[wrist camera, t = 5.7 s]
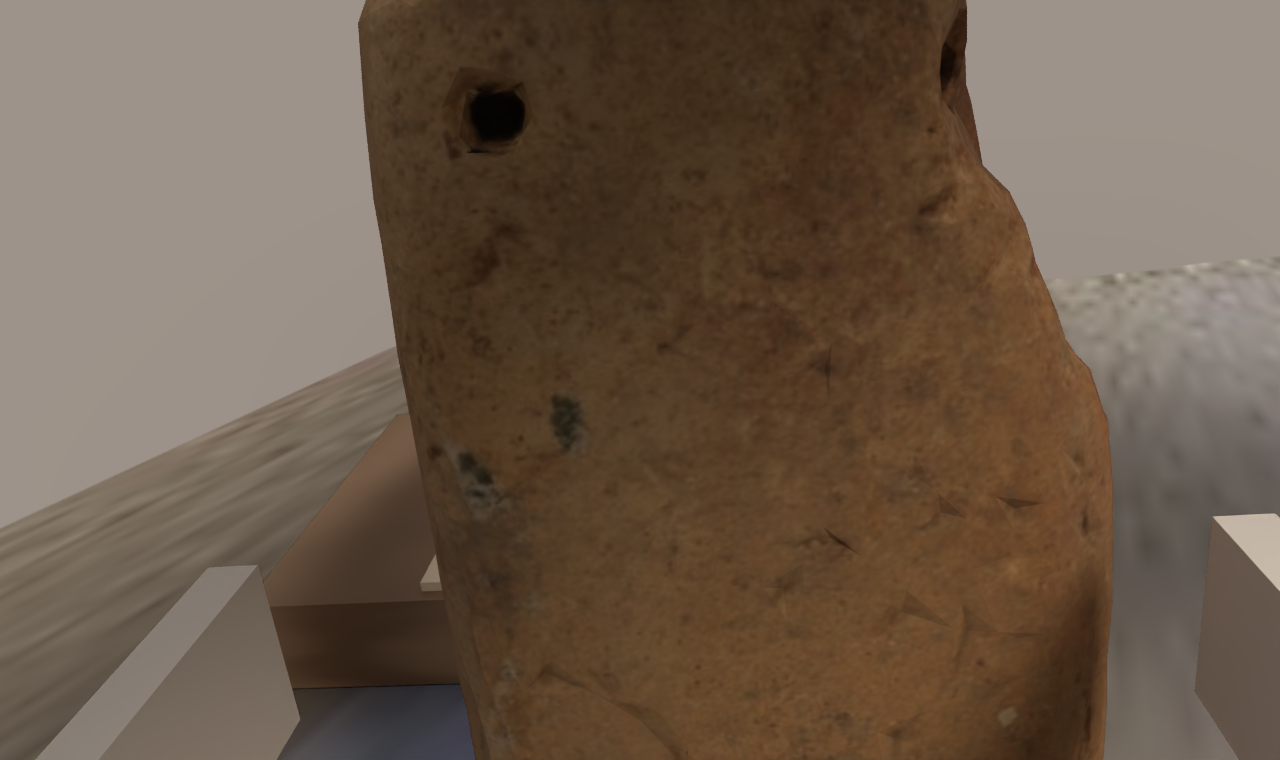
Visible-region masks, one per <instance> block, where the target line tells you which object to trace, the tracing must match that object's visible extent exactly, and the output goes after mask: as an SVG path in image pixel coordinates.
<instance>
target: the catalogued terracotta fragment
mask: <svg viewBox="0 0 1280 760" xmlns="http://www.w3.org/2000/svg"><path fill="white" fill-rule="evenodd" d="M358 28H359V42H360V56H361V70H362V83H363V99H364V112H365V122H366V133H367V142H368V152H369V161H370V170H371V180H372V188H373V199H374V204H375V210H376V216H377V220H378V226H379V231H380V237H381V243H382V250H383V256H384V263H385V269H386V276H387V283H388V290H389V297H390V303H391V310H392V317H393V324H394V331H395V338H396V345H397V352H398V359H399V364H400V369H401V374H402V379H403V384H404V388H405V393H406V398H407V404H408V409H409V415H410V420H411V426H412V431H413V437H414V442H415V447H416V453H417V458H418V463H419V468H420V474H421V479H422V484H423V489H424V495H425V500H426V505H427V510H428V516H429V521H430V526H431V531H432V536H433V542H434V548H435V553H436V559H437V565H438V571H439V577H440V583H441V587H442V592H443V597H444V602H445V607H446V612H447V617H448V622H449V627H450V632H451V638H452V644H453V650H454V656H455V662H456V669H457V673H458V677H459V681H460V685H461V689H462V693H463V697H464V700H465V704H466V708H467V712H468V718H469V725H470V731H471V738H472V743H473V747H474V753H475V759H476V760H1103V756H1104V741H1105V724H1106V708H1107V653H1108V643H1109V633H1110V621H1111V610H1112V563H1113V482H1112V468H1111V455H1110V443H1109V430H1108V419H1107V417H1106V415H1105V412H1104V410H1103V408H1102V405H1101V402H1100V398H1099V395H1098V392H1097V389H1096V386H1095V383H1094V380H1093V377H1092V374H1091V371H1090V369H1089V367H1088V366H1087V365H1086V364H1085V363H1084V362H1083V361H1082V360H1081V359H1080V358H1079V357H1078V356H1077V355H1076V354H1075V352H1074V351H1073V349H1072V348H1071V346H1070V345H1069V343H1068V342H1067V340H1066V339H1065V336H1064V333H1063V330H1062V326H1061V323H1060V320H1059V317H1058V314H1057V311H1056V309H1055V306H1054V304H1053V301H1052V299H1051V296H1050V294H1049V291H1048V289H1047V287H1046V284H1045V282H1044V280H1043V278H1042V275H1041V273H1040V271H1039V269H1038V266H1037V264H1036V262H1035V258H1034V253H1033V248H1032V245H1031V241H1030V238H1029V235H1028V231H1027V228H1026V225H1025V222H1024V220H1023V218H1022V216H1021V214H1020V212H1019V210H1018V208H1017V206H1016V204H1015V202H1014V200H1013V198H1012V196H1011V194H1010V192H1009V191H1008V190H1007V189H1006V188H1005V187H1004V186H1003V185H1002V184H1001V183H1000V182H999V181H998V180H997V179H996V178H995V177H994V176H993V175H992V174H991V173H990V172H989V171H988V170H987V169H986V168H985V167H984V166H983V164H982V159H981V153H980V147H979V142H978V136H977V130H976V125H975V120H974V115H973V110H972V104H971V100H970V96H969V93H968V89H967V86H966V66H965V47H966V43H967V5H966V0H366V1H365V4H364V8H363V10H362V13H361V17H360V19H359V22H358Z"/></svg>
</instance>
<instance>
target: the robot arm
mask: <svg viewBox="0 0 1280 760" xmlns="http://www.w3.org/2000/svg"><path fill="white" fill-rule="evenodd" d="M1195 692H1196V694H1197V695H1198V697H1199V698H1200V700H1201V701H1202V703H1203V704H1204V706H1205V707H1206V709H1207V711H1208V712H1209V714H1210V715H1211V717H1212V718H1213V720H1214V721H1215V723H1216V724H1217V726H1218V727H1219V729H1220V730H1221V732H1222V733H1223V735H1224V737H1225V738H1226V740H1227V741H1228V743H1229V744H1230V746H1231V747H1232V749H1233V750H1234V752H1235V753H1236V755H1237V756H1238V758H1239V760H1280V518H1279V517H1278V516H1277V515H1276V514H1275V513H1273V514H1253V515H1233V516H1214V517H1212V527H1211V536H1210V546H1209V556H1208V566H1207V576H1206V586H1205V595H1204V605H1203V615H1202V625H1201V635H1200V644H1199V654H1198V664H1197V674H1196V684H1195ZM299 721H300V716H299V712H298V709H297V705H296V701H295V698H294V694H293V691H292V687H291V683H290V680H289V676H288V672H287V669H286V665H285V661H284V658H283V654H282V650H281V647H280V643H279V640H278V636H277V632H276V629H275V625H274V621H273V618H272V614H271V610H270V607H269V603H268V600H267V596H266V592H265V589H264V585H263V581H262V578H261V574H260V570H259V567H258V565H247V566H227V567H208V568H207V570H206V571H205V572H204V573H203V574H202V575H201V576H200V577H199V578H198V580H197V581H196V582H195V583H194V584H193V585H192V586H191V587H190V588H189V590H188V591H187V592H186V593H185V594H184V595H183V596H182V597H181V598H180V600H179V601H178V602H177V603H176V604H175V605H174V606H173V607H172V608H171V610H170V611H169V612H168V613H167V614H166V615H165V616H164V617H163V618H162V620H161V621H160V622H159V623H158V624H157V625H156V626H155V627H154V628H153V630H152V631H151V632H150V633H149V634H148V635H147V636H146V637H145V638H144V640H143V641H142V642H141V643H140V644H139V645H138V646H137V647H136V648H135V649H134V651H133V652H132V653H131V654H130V655H129V656H128V657H127V658H126V659H125V661H124V662H123V663H122V664H121V665H120V666H119V667H118V668H117V669H116V671H115V672H114V673H113V674H112V675H111V676H110V677H109V678H108V679H107V681H106V682H105V683H104V684H103V685H102V686H101V687H100V688H99V689H98V691H97V692H96V693H95V694H94V695H93V696H92V697H91V698H90V699H89V701H88V702H87V703H86V704H85V705H84V706H83V707H82V708H81V709H80V711H79V712H78V713H77V714H76V715H75V716H74V717H73V718H72V719H71V721H70V722H69V723H68V724H67V725H66V726H65V727H64V728H63V729H62V731H61V732H60V733H59V734H58V735H57V736H56V737H55V738H54V739H53V741H52V742H51V743H50V744H49V745H48V746H47V747H46V748H45V749H44V750H43V752H42V753H41V754H40V755H39V756H38V757H37V758H36V759H35V760H277V758H278V757H279V755H280V753H281V751H282V750H283V748H284V746H285V745H286V743H287V741H288V740H289V738H290V736H291V734H292V733H293V731H294V729H295V728H296V726H297V724H298V723H299Z"/></svg>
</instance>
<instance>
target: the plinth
mask: <svg viewBox="0 0 1280 760" xmlns="http://www.w3.org/2000/svg"><path fill="white" fill-rule="evenodd" d="M263 585H264V589H265V592H266V596H267V600H268V603H269V607H270V610H271V614H272V618H273V621H274V625H275V629H276V632H277V636H278V640H279V643H280V647H281V650H282V654H283V658H284V661H285V665H286V669H287V672H288V676H289V680H290V683H291V687H292V688H324V687H357V686H390V685H423V684H456V683H460V681H459V677H458V673H457V669H456V662H455V656H454V650H453V644H452V638H451V632H450V627H449V622H448V617H447V612H446V607H445V602H444V597H443V592H442V587H441V583H440V577H439V571H438V565H437V559H436V553H435V548H434V542H433V536H432V531H431V526H430V521H429V516H428V510H427V505H426V500H425V495H424V489H423V484H422V479H421V474H420V468H419V463H418V458H417V453H416V447H415V442H414V437H413V431H412V426H411V420H410V415H409V414H401V415H396V417H395V418H394V419H393V420H392V422H391V423H390V424H389V425H388V427H387V428H386V429H385V430H384V432H383V433H382V434H381V435H380V437H379V438H378V439H377V440H376V442H375V443H374V444H373V445H372V447H371V448H370V449H369V450H368V452H367V453H366V454H365V455H364V457H363V458H362V459H361V460H360V462H359V463H358V464H357V465H356V467H355V468H354V469H353V470H352V472H351V473H350V474H349V475H348V477H347V478H346V479H345V480H344V482H343V483H342V484H341V485H340V487H339V488H338V489H337V490H336V492H335V493H334V494H333V495H332V497H331V498H330V499H329V500H328V502H327V503H326V504H325V505H324V507H323V508H322V509H321V510H320V512H319V513H318V514H317V515H316V517H315V518H314V519H313V520H312V522H311V523H310V524H309V525H308V527H307V528H306V529H305V530H304V532H303V533H302V534H301V535H300V537H299V538H298V539H297V541H296V542H295V543H294V544H293V546H292V547H291V548H290V549H289V551H288V552H287V553H286V554H285V556H284V557H283V558H282V559H281V561H280V562H279V563H278V564H277V566H276V567H275V568H274V569H273V571H272V572H271V573H270V574H269V576H268V577H267V578H266V579H265V581H264V582H263Z"/></svg>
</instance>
